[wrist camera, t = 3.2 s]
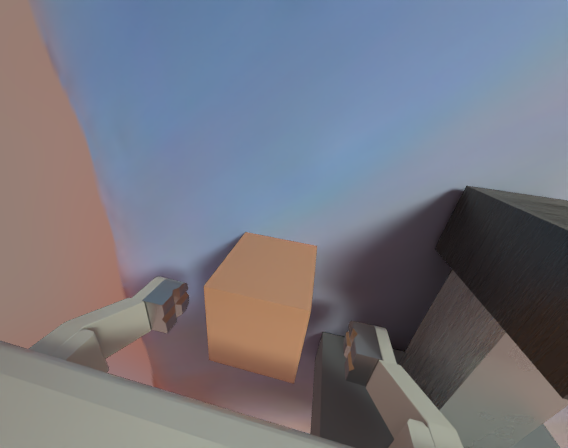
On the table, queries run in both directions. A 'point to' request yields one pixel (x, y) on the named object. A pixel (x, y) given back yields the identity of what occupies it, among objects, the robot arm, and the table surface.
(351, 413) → the block
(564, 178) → the table surface
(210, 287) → the block
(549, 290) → the shaft
